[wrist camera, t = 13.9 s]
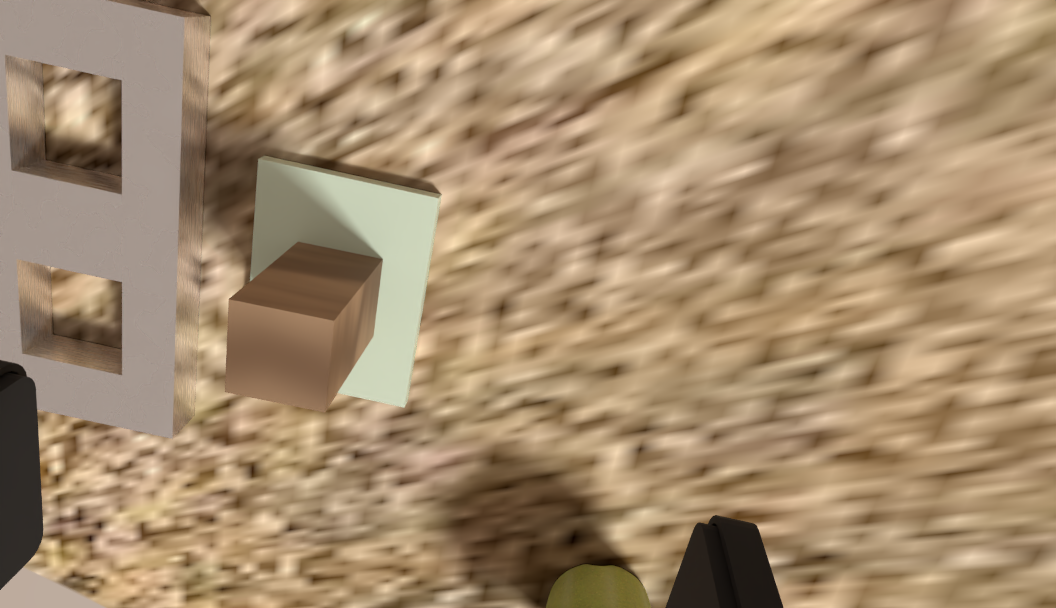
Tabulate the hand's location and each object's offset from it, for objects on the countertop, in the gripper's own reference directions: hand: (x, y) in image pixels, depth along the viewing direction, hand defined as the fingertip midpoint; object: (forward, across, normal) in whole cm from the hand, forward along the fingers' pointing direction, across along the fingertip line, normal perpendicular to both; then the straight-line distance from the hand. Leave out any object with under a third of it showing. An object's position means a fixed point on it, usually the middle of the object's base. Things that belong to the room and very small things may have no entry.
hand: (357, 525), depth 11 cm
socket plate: (+28, +21, +8) cm, 36 cm away
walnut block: (+28, +8, +9) cm, 30 cm away
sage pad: (+28, +8, +9) cm, 31 cm away
